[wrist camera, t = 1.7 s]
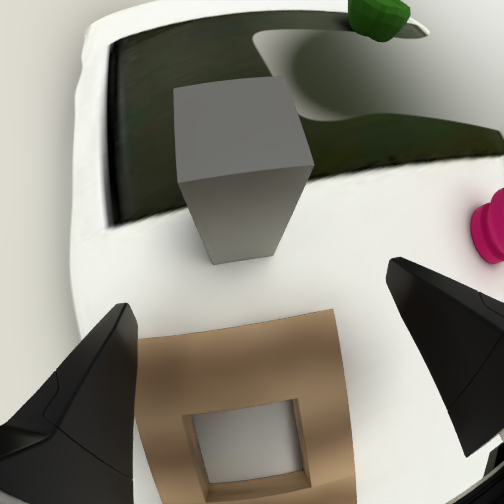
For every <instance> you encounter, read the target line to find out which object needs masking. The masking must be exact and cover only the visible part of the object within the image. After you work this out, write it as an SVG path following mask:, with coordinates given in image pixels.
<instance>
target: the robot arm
mask: <svg viewBox="0 0 504 504" xmlns="http://www.w3.org/2000/svg"><path fill="white" fill-rule="evenodd" d="M386 283H387V286H388V288H389V290H390V292H391V295H392V297H393V299H394V301H395V304H396V306H397V308H398V311H399V313H400V315H401V317H402V319H403V321H404V323H405V325H406V327H407V328H408V330H409V332H410V334H411V336H412V338H413V340H414V342H415V344H416V345H417V347H418V349H419V351H420V353H421V355H422V357H423V359H424V361H425V363H426V365H427V367H428V369H429V371H430V374H431V376H432V378H433V380H434V382H435V384H436V386H437V388H438V391H439V393H440V395H441V397H442V400H443V402H444V404H445V406H446V409H447V410H448V414H449V416H450V419H451V421H452V423H453V426H454V428H455V431H456V433H457V436H458V439H459V441H460V444H461V447H462V449H463V452H464V455H465V457H466V458H467V457H469V456H470V455H471V454H473V453H474V452H476V451H477V450H479V449H480V448H481V447H483V446H484V445H485V444H487V443H488V442H489V441H491V440H492V439H493V438H494V437H496V436H497V435H498V434H499V435H500V437H501V439H502V441H503V442H502V443H501V444H500V445H498V446H497V447H496V448H495V449H493V450H492V451H491V452H490V454H489V458H488V462H487V465H486V469H485V473H484V476H483V478H482V479H481V480H480V481H478V482H477V483H476V484H474V485H473V486H471V487H470V488H469V489H467V490H466V491H464V492H463V493H461V494H460V495H458V496H457V497H455V498H454V499H452V500H450V501H449V502H447V503H446V504H504V303H503V302H500V301H498V300H496V299H494V298H492V297H489V296H487V295H485V294H483V293H481V292H478V291H477V290H474V289H472V288H470V287H468V286H466V285H464V284H462V283H459V282H457V281H455V280H453V279H451V278H448V277H446V276H444V275H442V274H439V273H437V272H435V271H433V270H430V269H428V268H426V267H423V266H421V265H419V264H416V263H414V262H412V261H409V260H407V259H405V258H402V257H396V258H391V259H390V261H389V264H388V269H387V274H386ZM137 369H138V324H137V321H136V318H135V316H134V314H133V312H132V309H131V307H130V305H129V304H128V303H119V304H116V305H115V306H114V307H113V308H112V309H111V310H110V311H109V312H108V313H107V314H106V315H105V316H104V317H103V318H102V319H101V320H100V322H99V323H98V324H97V325H96V326H95V327H94V328H93V329H92V330H91V331H90V332H89V333H88V334H87V336H86V337H85V338H84V339H83V340H82V341H81V342H80V343H79V344H78V345H77V346H76V348H75V349H74V350H73V351H72V352H71V353H70V354H69V355H68V357H67V358H66V359H65V360H64V361H63V362H62V363H61V365H60V366H59V367H58V368H57V369H56V371H54V372H53V374H52V375H51V376H50V377H49V378H48V380H47V381H46V382H45V383H44V384H43V385H42V386H41V387H40V389H39V390H37V392H36V393H35V394H34V395H33V396H32V397H31V398H30V399H29V400H28V401H27V402H26V403H25V404H24V405H23V406H22V407H21V408H20V409H19V410H18V411H17V412H16V413H15V414H14V415H13V416H12V417H11V418H10V419H9V420H8V421H7V422H6V423H5V424H3V425H1V426H0V504H134V500H133V480H132V479H133V426H134V407H135V393H136V381H137Z"/></svg>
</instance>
